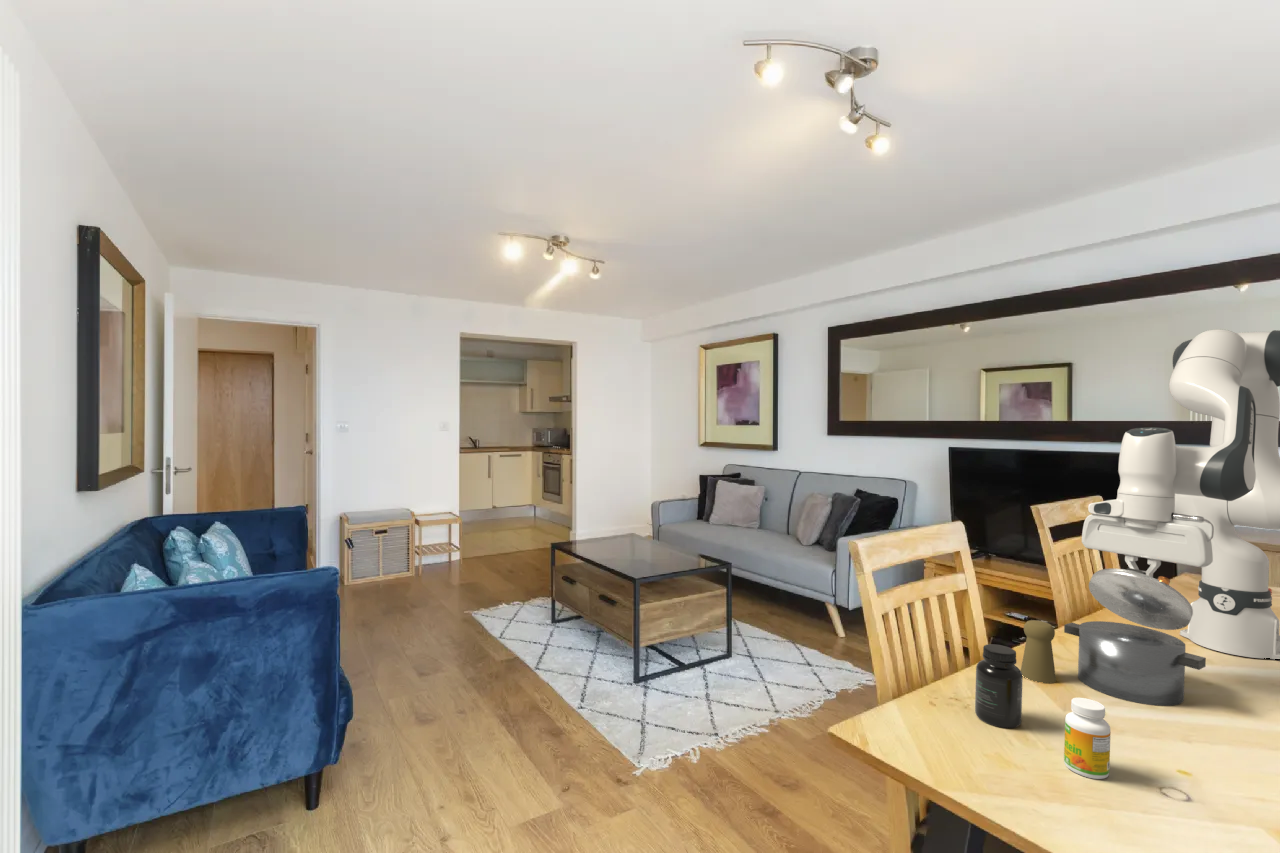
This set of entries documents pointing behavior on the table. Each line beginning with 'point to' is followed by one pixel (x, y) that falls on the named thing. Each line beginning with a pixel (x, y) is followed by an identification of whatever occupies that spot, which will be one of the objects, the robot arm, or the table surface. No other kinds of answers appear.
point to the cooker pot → (1133, 662)
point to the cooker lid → (1141, 598)
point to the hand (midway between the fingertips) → (1141, 580)
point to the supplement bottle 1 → (998, 687)
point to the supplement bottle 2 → (1087, 739)
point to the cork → (1038, 652)
